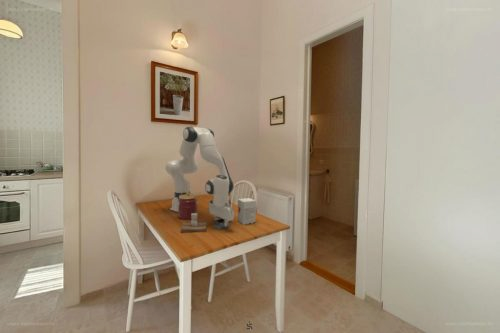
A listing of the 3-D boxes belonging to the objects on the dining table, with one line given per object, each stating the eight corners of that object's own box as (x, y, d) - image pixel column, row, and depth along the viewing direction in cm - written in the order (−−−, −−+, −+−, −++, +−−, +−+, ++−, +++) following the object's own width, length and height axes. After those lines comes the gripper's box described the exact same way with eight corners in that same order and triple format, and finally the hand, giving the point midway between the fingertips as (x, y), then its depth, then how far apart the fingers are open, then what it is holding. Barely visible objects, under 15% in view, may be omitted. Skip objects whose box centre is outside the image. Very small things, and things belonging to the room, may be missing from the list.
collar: (213, 227, 133) (213, 220, 133) (222, 224, 138) (222, 218, 138) (220, 229, 129) (220, 223, 129) (228, 227, 133) (228, 220, 133)
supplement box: (237, 220, 146) (237, 198, 145) (249, 219, 150) (249, 197, 149) (243, 225, 138) (243, 201, 137) (255, 223, 142) (256, 200, 141)
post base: (183, 224, 137) (183, 211, 137) (206, 223, 140) (206, 210, 139) (180, 232, 123) (180, 217, 123) (206, 231, 126) (206, 217, 125)
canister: (194, 220, 146) (194, 194, 145) (175, 219, 147) (175, 193, 145) (199, 214, 159) (199, 190, 158) (181, 214, 160) (181, 190, 158)
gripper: (236, 204, 127) (236, 227, 128) (215, 198, 142) (215, 219, 143) (228, 206, 123) (228, 230, 124) (207, 200, 137) (207, 221, 138)
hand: (221, 224), depth 133 cm, fingers closed on collar, 6 cm apart
